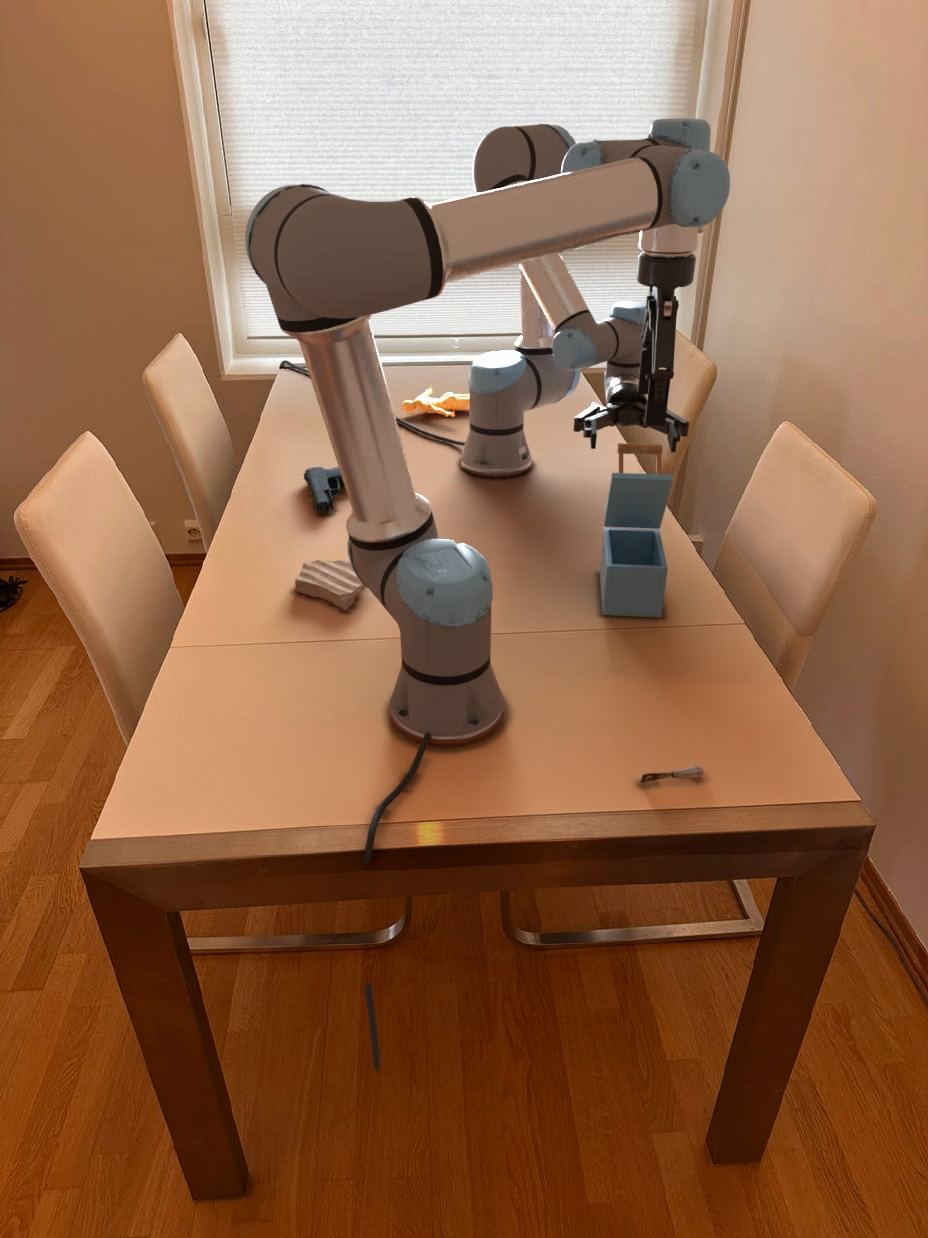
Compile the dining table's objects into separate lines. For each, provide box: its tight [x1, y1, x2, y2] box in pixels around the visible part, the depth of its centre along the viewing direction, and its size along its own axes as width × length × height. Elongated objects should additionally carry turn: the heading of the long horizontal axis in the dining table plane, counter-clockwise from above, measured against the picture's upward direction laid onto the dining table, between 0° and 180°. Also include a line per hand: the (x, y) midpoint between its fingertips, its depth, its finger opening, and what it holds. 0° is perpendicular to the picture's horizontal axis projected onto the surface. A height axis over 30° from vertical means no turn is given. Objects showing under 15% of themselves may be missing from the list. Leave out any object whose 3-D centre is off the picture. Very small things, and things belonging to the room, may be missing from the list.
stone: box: [294, 559, 366, 611], centre depth 149 cm, size 13×12×3 cm
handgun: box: [303, 466, 345, 515], centre depth 181 cm, size 3×18×12 cm
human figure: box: [402, 385, 469, 418], centre depth 225 cm, size 20×20×4 cm
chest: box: [599, 527, 669, 618], centre depth 145 cm, size 14×9×9 cm
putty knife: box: [640, 765, 705, 784], centre depth 109 cm, size 1×8×2 cm, turn 103°
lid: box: [603, 442, 674, 530], centre depth 143 cm, size 14×9×9 cm
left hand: (650, 408), depth 129 cm, fingers open, 13 cm apart
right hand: (634, 443), depth 152 cm, fingers open, 13 cm apart
